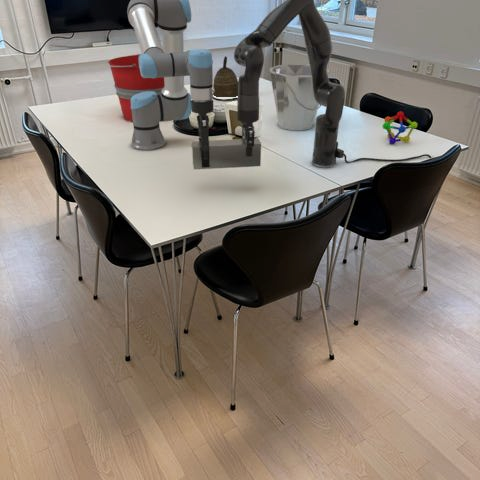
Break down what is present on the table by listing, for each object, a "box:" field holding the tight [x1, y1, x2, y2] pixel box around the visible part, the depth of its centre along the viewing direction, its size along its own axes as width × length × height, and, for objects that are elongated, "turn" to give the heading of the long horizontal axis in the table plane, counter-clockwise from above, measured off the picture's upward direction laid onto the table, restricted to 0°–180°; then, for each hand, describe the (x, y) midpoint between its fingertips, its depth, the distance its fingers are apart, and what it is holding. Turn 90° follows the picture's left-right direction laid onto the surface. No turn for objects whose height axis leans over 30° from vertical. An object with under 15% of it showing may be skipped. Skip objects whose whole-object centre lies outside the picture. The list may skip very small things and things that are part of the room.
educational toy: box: [382, 110, 418, 145], centre depth 207 cm, size 16×13×15 cm
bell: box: [212, 56, 239, 97], centre depth 278 cm, size 19×26×20 cm
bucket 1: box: [105, 53, 165, 123], centre depth 239 cm, size 35×35×30 cm
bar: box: [191, 137, 262, 171], centre depth 160 cm, size 24×6×9 cm, turn 98°
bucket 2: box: [269, 63, 330, 131], centre depth 226 cm, size 30×30×28 cm
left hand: (204, 160), depth 161 cm, fingers open, 11 cm apart
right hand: (247, 152), depth 161 cm, fingers closed on bar, 5 cm apart
